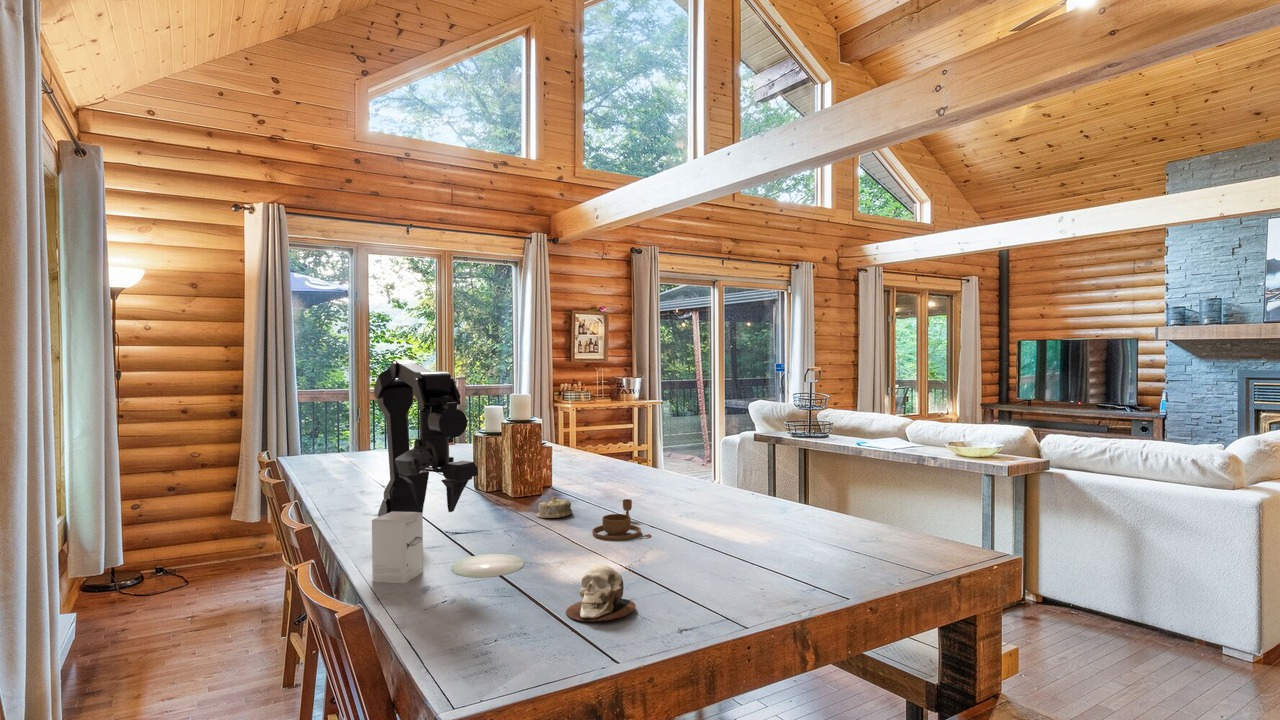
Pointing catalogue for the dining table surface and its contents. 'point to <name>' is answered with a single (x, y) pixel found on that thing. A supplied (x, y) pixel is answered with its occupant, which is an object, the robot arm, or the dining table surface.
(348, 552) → the dining table surface
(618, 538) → the place setting
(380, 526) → the supplement box
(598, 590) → the skull
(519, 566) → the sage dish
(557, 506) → the cake
